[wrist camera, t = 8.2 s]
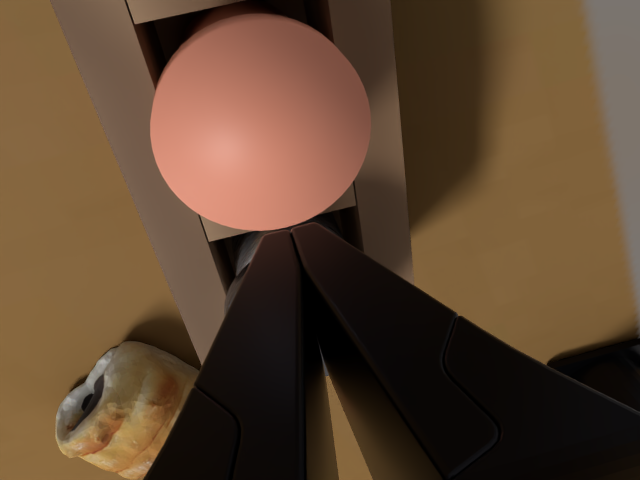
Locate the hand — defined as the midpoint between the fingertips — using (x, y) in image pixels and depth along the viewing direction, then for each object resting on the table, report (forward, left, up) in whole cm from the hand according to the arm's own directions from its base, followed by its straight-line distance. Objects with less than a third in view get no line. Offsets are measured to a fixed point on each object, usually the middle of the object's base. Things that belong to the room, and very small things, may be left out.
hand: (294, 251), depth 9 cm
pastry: (+8, +16, -13) cm, 22 cm away
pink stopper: (0, 0, -11) cm, 11 cm away
